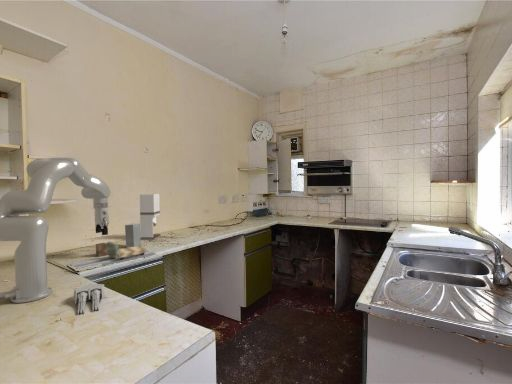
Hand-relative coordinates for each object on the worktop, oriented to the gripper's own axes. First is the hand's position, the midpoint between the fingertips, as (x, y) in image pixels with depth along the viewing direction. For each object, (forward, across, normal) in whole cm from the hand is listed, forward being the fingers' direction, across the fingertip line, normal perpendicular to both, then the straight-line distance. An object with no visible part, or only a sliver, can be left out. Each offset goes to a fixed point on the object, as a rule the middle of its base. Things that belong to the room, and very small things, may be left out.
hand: (101, 233), depth 162 cm
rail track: (+13, -16, 0) cm, 21 cm away
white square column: (+14, +22, -42) cm, 50 cm away
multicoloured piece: (+12, -16, -8) cm, 22 cm away
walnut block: (+13, 0, 0) cm, 13 cm away
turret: (+12, -66, +28) cm, 72 cm away
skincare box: (+14, +6, -22) cm, 26 cm away
